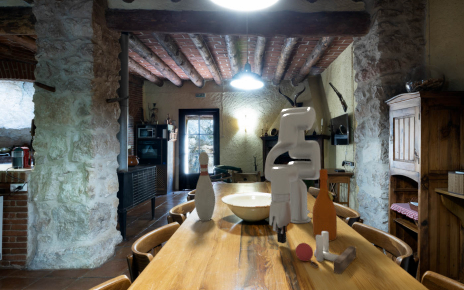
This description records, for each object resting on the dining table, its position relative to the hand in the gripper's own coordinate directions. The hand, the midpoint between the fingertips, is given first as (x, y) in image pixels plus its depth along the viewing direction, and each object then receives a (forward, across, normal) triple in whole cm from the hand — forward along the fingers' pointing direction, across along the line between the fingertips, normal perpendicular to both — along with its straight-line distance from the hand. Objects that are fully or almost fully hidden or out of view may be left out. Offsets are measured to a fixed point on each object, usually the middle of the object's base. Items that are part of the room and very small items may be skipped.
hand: (281, 242), depth 105 cm
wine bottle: (+2, -19, +10) cm, 22 cm away
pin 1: (+2, +2, +17) cm, 17 cm away
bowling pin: (+2, -5, -52) cm, 53 cm away
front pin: (0, 0, +14) cm, 14 cm away
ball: (-2, +6, +13) cm, 14 cm away
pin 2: (+2, -2, +17) cm, 17 cm away
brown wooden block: (+2, 0, +25) cm, 25 cm away
